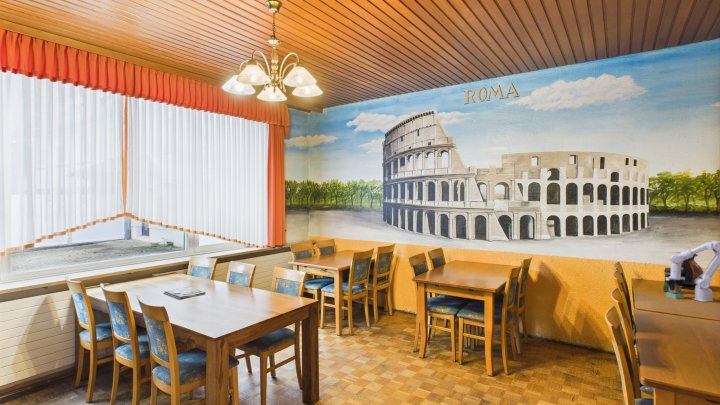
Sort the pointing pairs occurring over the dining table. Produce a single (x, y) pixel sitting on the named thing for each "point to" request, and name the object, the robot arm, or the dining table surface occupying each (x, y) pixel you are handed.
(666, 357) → the dining table surface
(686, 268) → the amphora vase
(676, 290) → the walnut cube
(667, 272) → the coffee jar
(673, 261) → the robot arm
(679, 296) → the teal plinth
